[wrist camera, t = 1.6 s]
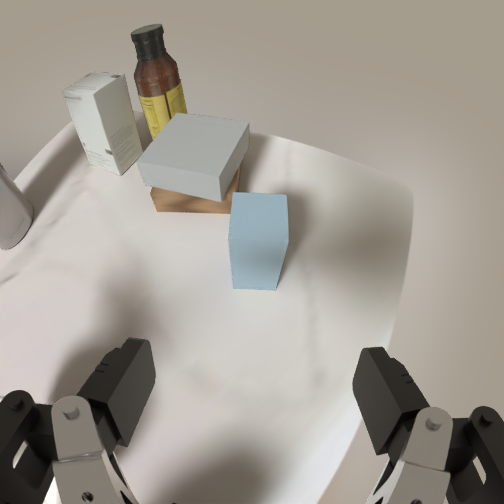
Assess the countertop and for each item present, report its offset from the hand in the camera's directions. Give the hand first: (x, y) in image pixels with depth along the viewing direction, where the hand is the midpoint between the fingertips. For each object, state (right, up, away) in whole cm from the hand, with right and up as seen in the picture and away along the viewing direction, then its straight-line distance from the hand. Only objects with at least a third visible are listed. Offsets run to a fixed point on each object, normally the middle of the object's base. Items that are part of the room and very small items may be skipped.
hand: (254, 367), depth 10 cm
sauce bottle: (-13, +22, +31) cm, 40 cm away
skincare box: (-22, +19, +29) cm, 41 cm away
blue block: (0, +2, +20) cm, 21 cm away
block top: (-7, +15, +23) cm, 29 cm away
